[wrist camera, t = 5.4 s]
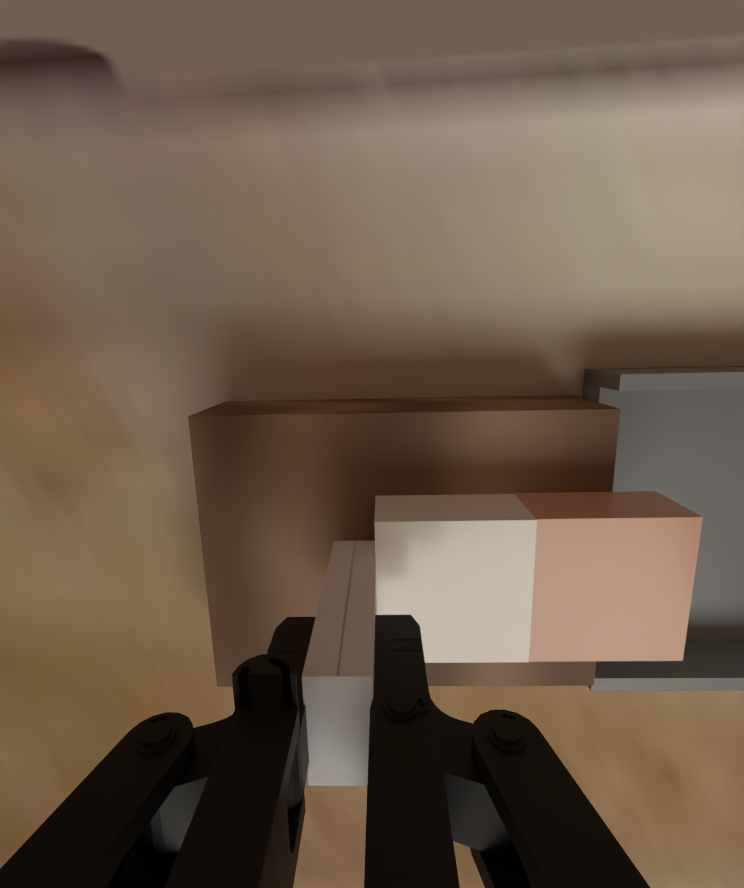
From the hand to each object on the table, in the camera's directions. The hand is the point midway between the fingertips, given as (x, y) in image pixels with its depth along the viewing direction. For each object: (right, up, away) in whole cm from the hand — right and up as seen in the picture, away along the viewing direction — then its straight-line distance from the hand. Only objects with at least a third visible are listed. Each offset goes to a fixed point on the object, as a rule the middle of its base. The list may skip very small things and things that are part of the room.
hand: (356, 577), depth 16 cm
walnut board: (+2, +1, +5) cm, 6 cm away
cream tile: (+3, 0, +1) cm, 3 cm away
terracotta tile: (+8, 0, +1) cm, 8 cm away
